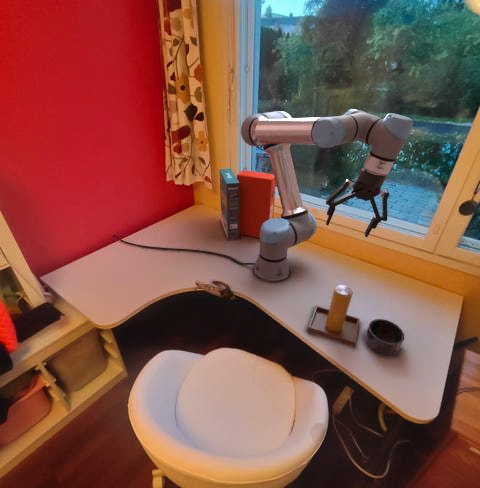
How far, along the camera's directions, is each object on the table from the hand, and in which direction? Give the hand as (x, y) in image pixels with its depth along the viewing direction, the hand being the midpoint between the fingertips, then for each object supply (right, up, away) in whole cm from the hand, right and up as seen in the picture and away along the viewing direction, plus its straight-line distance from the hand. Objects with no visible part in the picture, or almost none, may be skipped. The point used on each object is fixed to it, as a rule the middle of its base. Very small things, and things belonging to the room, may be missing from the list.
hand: (346, 229), depth 99 cm
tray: (-5, -34, 0) cm, 34 cm away
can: (-5, -33, 0) cm, 34 cm away
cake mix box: (-43, +5, +58) cm, 72 cm away
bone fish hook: (-46, -23, +15) cm, 54 cm away
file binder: (-29, +3, +55) cm, 62 cm away
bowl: (+9, -38, -6) cm, 39 cm away
